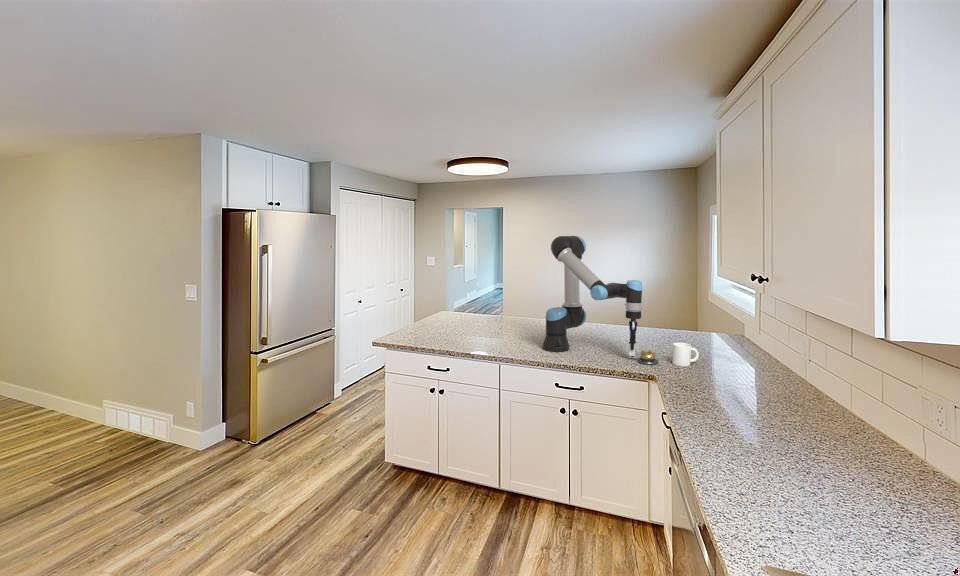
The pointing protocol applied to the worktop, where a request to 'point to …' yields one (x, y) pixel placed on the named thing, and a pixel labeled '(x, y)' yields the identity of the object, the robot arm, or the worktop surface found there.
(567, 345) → the robot arm
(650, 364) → the base plate
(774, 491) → the worktop surface
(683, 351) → the mug
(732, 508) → the worktop surface
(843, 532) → the worktop surface
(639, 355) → the gold rounded piece
